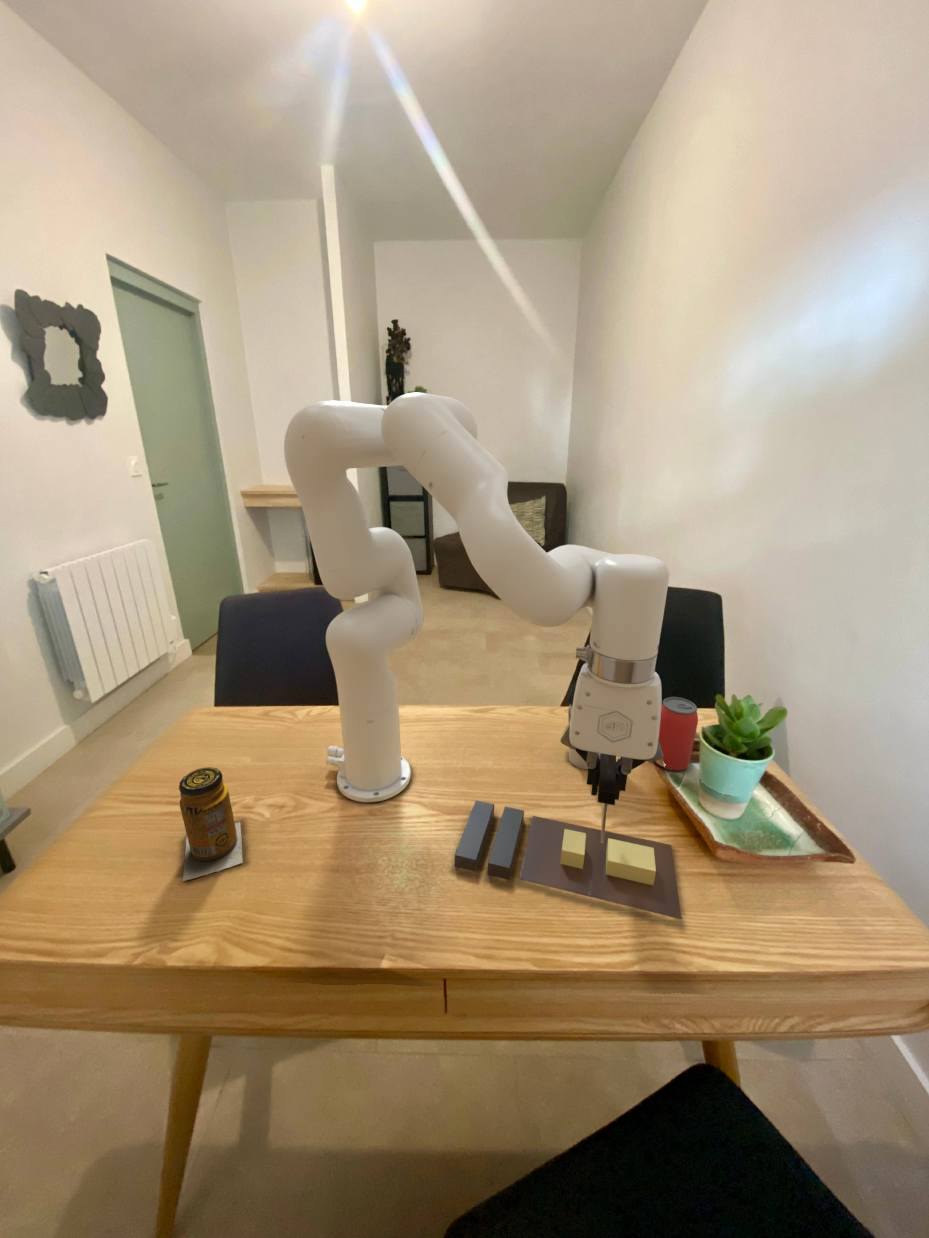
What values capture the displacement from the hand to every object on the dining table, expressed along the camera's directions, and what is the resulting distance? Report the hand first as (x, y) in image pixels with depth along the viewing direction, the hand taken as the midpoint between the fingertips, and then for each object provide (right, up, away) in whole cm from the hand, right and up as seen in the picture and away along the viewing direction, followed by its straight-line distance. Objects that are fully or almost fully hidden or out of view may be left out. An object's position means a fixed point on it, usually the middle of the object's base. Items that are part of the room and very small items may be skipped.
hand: (605, 789), depth 62 cm
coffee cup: (+4, -4, +27) cm, 28 cm away
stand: (-14, -11, +8) cm, 20 cm away
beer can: (+20, -4, +27) cm, 33 cm away
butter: (+4, -12, +3) cm, 13 cm away
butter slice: (-3, -11, +5) cm, 12 cm away
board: (0, -12, +5) cm, 13 cm away
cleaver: (0, -4, +1) cm, 4 cm away
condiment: (-54, -11, +7) cm, 56 cm away
